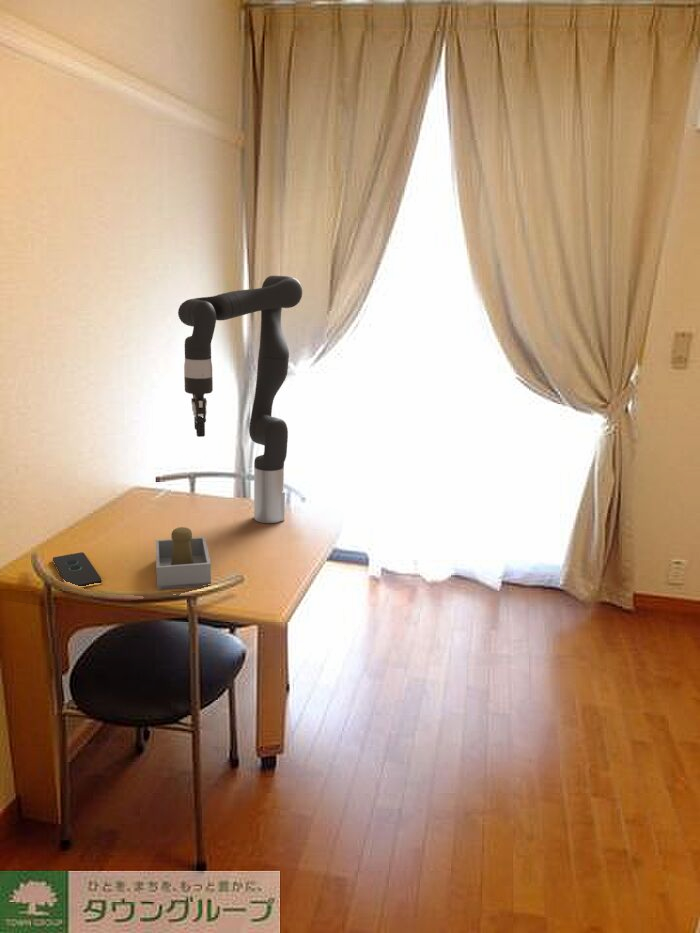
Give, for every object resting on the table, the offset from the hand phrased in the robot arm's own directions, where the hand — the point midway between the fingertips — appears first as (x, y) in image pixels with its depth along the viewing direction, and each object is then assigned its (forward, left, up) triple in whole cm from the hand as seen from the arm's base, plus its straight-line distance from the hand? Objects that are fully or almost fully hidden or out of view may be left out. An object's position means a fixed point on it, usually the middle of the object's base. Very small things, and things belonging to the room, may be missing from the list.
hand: (199, 432), depth 193 cm
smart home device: (+33, +17, -33) cm, 49 cm away
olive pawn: (+6, +21, -31) cm, 38 cm away
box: (+7, +22, -32) cm, 39 cm away
